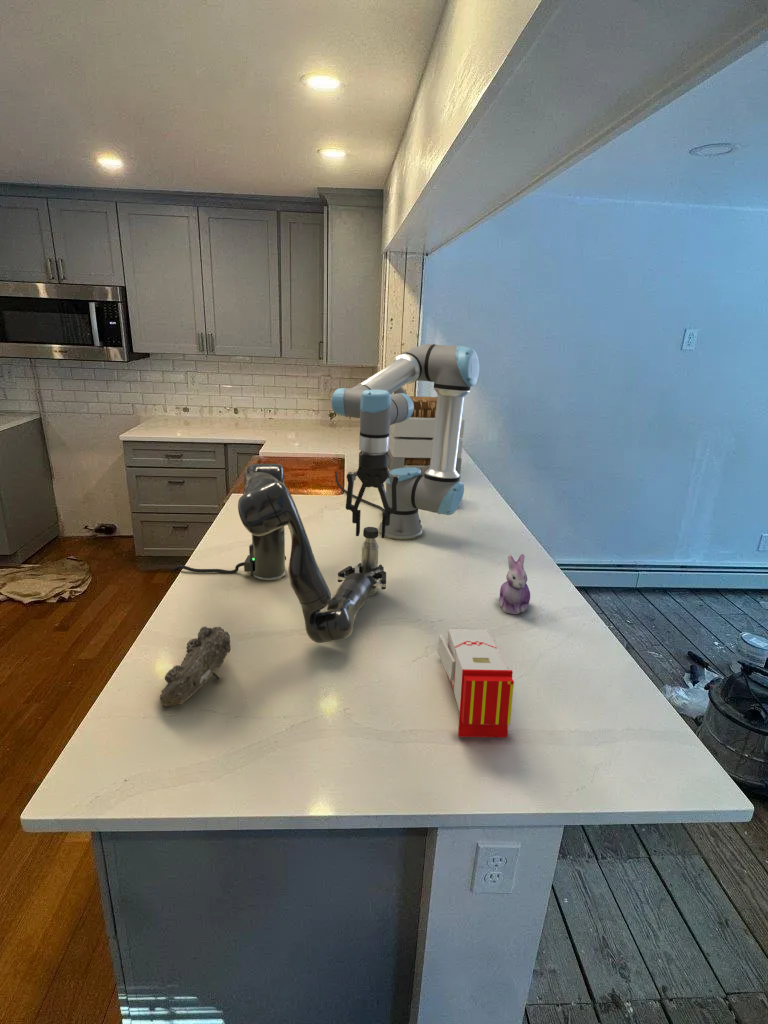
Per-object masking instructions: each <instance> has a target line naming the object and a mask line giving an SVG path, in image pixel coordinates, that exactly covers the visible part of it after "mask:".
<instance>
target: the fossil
mask: <svg viewBox="0 0 768 1024" xmlns="http://www.w3.org/2000/svg"><path fill="white" fill-rule="evenodd" d="M231 648H232V647H231V635H230V633H229V631H225V630H224V628H223V627H222V626H215V627H214V626H213V627H212V628H211V627H207V626H202V627H200V629H199V631H198V633H197V637H195V638H191V639H189V640H188V641H187V643H186V654H185V656H184V657H183V660H182V661H181V663H180V665H178V664H177V665H174V666H173V667H172V668H171V669H170V670H168V672H166V673H165V675H164V678H163V679H164V681H165V682H166V683H167V684H166V685H165V687H164V688H162V689H161V690H160V694H159V700H160V703H161V705H165V706H167V707H173V706H178V705H183V704H184V703H185V702H186V701H187V700H188V699H190V697H192V696H193V695H194V694H195V693H196V692H197V691H199V690H200V689H201V688H202V687H203V686H204V685H205V684H206V682H207V681H208V679H209V678H210V677H212V675H213V677H215V678H216V680H220V679H221V677H219V675H218V674H216V672H215V671H216V669H217V668H220V667H221V666H222V665H223V663H224V661H225V658H226V657H227V655H228V654H229V653H230V652H231Z"/></svg>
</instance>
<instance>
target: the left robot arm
mask: <svg viewBox="0 0 768 1024" xmlns="http://www.w3.org/2000/svg"><path fill="white" fill-rule="evenodd" d="M243 484H244V487H243V493H242V496H240V497H239V499H238V501H237V502H238V503H237V511H238V515H239V519H240V521H241V522H242V525H243V527H244V528H245V529H246V530H247V531H248V533H250V534H251V544H249V545H248V551H249V552H248V555H246V558H245V560H244V561H243V562H239V563H237V564H236V565H235V567H234V569H232V570H228V569H222V568H194V567H191V566H187V565H176V566H175V567H174V568H173V569H172V570H171V572H177V571H178V570H186V571H189V572H192V573H221V574H228V575H229V574H231V575H233V574H236V573H237V572H239V568H241V567H243V572H245V573H246V572H247V573H249V575H250V577H253V578H255V579H257V580H259V581H262V582H263V581H264V582H270V581H277V580H280V579H282V578H284V577H285V576H286V574H287V573H286V572H287V571H286V570H287V569H286V561H287V555H286V542H285V541H286V540H285V539H286V538H285V535H286V533H285V527H286V526H288V529H289V532H290V538H291V545H290V546H291V547H290V556H289V563H288V581H289V584H290V587H291V589H292V591H293V593H294V594H295V596H296V599H297V601H298V603H299V604H300V607H301V610H302V611H301V612H302V617H303V620H304V625H305V632H306V634H307V636H308V639H310V640H311V641H312V642H314V643H316V644H324V643H330V642H331V643H332V642H337V641H343V640H345V639H347V638H349V637H350V636H351V635H352V634H353V630H354V622H355V616H356V614H357V613H358V612H359V610H360V609H361V608H362V607H363V606H364V604H365V603H366V602H367V600H368V598H369V597H370V596H371V595H370V593H371V591H372V589H374V588H376V587H377V588H378V587H379V588H381V590H384V591H385V590H386V589H387V572H386V571H385V570H384V566H383V564H378V568H377V569H376V570H375V571H371V572H369V573H368V574H364V573H361V562H359V563H357V565H355V566H354V567H353V566H352V565H348V566H346V567H344V568H343V569H342V570H339V572H338V571H337V582H338V583H341V584H340V585H339V586H338V588H337V589H336V591H335V593H334V595H333V596H332V593H331V591H330V588H329V586H328V584H327V582H326V580H325V578H324V576H323V574H322V572H321V570H320V568H319V565H318V563H317V561H316V558H315V555H314V552H313V548H312V546H311V543H310V540H309V537H308V534H307V531H306V529H305V526H304V524H303V523H304V522H303V521H302V518H301V515H300V513H299V509H298V508H297V505H296V502H295V500H294V498H293V496H292V494H291V492H290V490H289V489H288V487H287V486H286V484H285V470H284V467H283V466H282V464H281V463H252V464H249V465H248V466H247V467H246V468H245V470H244V475H243ZM376 581H377V582H376ZM325 608H326V610H323V609H325Z"/></svg>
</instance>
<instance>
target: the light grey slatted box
mask: <svg viewBox="0 0 768 1024" xmlns="http://www.w3.org/2000/svg"><path fill="white" fill-rule="evenodd" d="M395 393H404V394H406V395H408V393H407V390H406V389H404V388H403V386H402V387H401V388H399V389H398V390H396V391H395V392H393V394H395ZM408 396H409V397H410V398H411V399H412V401H413V404H414V410H413V413H412V415H411V417H410V418H408V419H407V420H404V421H403V422H401V423H395V424H392V425H390V428H389V450H388V451H387V453H388V468H389V472H390V471H391V470H393V469H397V468H405V466H406V467H409V466H411V467H417V466H418V467H430V460H431V451H432V442H433V432H434V423H435V414H436V405H437V396H415V395H414V396H413V395H412V396H411V395H408ZM464 429H465V419H464V418H462V421H461V429H460V437H459V446H458V454H457V462H456V471H457V473H458V474H459V481H460V482H461V472H462V461H463V460H462V453H463V442H464V441H463V440H462V439H463V438H464V431H465V430H464Z"/></svg>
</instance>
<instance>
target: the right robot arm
mask: <svg viewBox="0 0 768 1024" xmlns="http://www.w3.org/2000/svg"><path fill="white" fill-rule="evenodd" d="M479 376H480V361H479V357H478V354H477V352H476V351H475V350H474V349H473V348H472V347H469V346H462V345H449V344H436V343H435V344H434V343H427V344H422V345H418V346H415V347H412V348H410V349H407V350H405V351H403V352H402V353H400V354H397V356H396V357H395V358H394V359H393V361H392V363H390V364H389V365H387V366H385V367H384V368H382V369H381V370H379V371H378V372H376V373H374V374H372V375H371V376H369V377H368V378H366V379H365V380H363V381H362V382H359V383H358V384H356V385H355V386H353V387H352V388H347V387H339V388H337V389H335V390H334V392H332V393H333V394H332V396H331V400H330V401H331V409H332V410H333V412H334V413H335V415H338V416H341V417H342V416H343V417H345V418H354V419H355V418H356V419H359V436H358V437H359V442H358V443H359V444H358V450H359V453H358V467H357V470H356V471H348V472H347V474H346V480H347V490H346V489H345V488H344V487H343V486H342V485H341V484H340V482H339V479H338V471H337V470H335V471H334V476H335V477H334V478H335V483H336V485H337V487H338V488H339V489H340V490H342V491H343V492H344V493H345V494H346V500H345V509H346V510H347V511H350V512H352V514H351V515H352V518H351V521H352V524H355V537H359V536H360V533H361V509H359V506H360V504H361V502H363V503H365V504H367V505H370V506H372V507H375V508H377V509H379V510H380V511H382V515H381V516H382V519H381V522H379V526H378V533H379V534H380V535H381V539H385V538H387V539H389V540H395V541H410V540H415V539H418V538H420V537H421V536H422V535H423V525H422V524H421V522H422V521H421V518H420V515H419V510H421V511H426V512H429V513H435V514H438V515H445V516H451V515H453V514H454V513H456V511H457V510H458V509H459V508H460V505H461V504H462V502H463V501H462V500H463V497H464V493H465V485H464V483H463V482H462V481H461V480H460V481H459V474H458V473H457V471H456V462H457V454H458V446H459V437H460V429H461V421H462V419H463V414H464V413H463V411H464V403H465V397H466V396H467V395H468V394H469V393H470V392H471V387H474V386H476V384H477V383H478V379H479ZM415 382H430V383H433V390H434V391H435V392H436V395H437V396H436V397H437V405H436V414H435V423H434V432H433V442H432V451H431V460H430V466H428V468H427V469H426V470H424V474H422V470H421V468H419V467H414V466H411V467H409V466H406V467H405V466H404V468H397V469H393V470H391V471H390V470H389V469H388V468H389V467H388V453H387V451H388V450H389V428H390V425H392V424H395V423H401V422H403V421H404V420H407V419H408V418H410V417H411V415H412V413H413V410H414V404H413V401H412V399H411V398H410V397H409V396H410V395H408V394H407V395H406V394H404V393H395V394H394V392H395V391H396V390H398V389H399V388H401V387H402V388H403V387H404V386H405V385H409V384H413V383H415ZM357 478H358V479H359V480H360V482H361V486H360V488H359V491H358V494H357V495H355V494H354V485H355V481H356V479H357ZM384 483H385V484H384ZM366 488H375V489H377V490H378V493H379V497H380V499H381V503H382V506H383V507H382V506H380V505H378V504H376V503H373V502H370V501H369V500H366V499H364V498H363V496H364V494H365V491H366ZM353 498H354V499H355V501H354V504H353ZM460 503H461V504H460Z"/></svg>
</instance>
